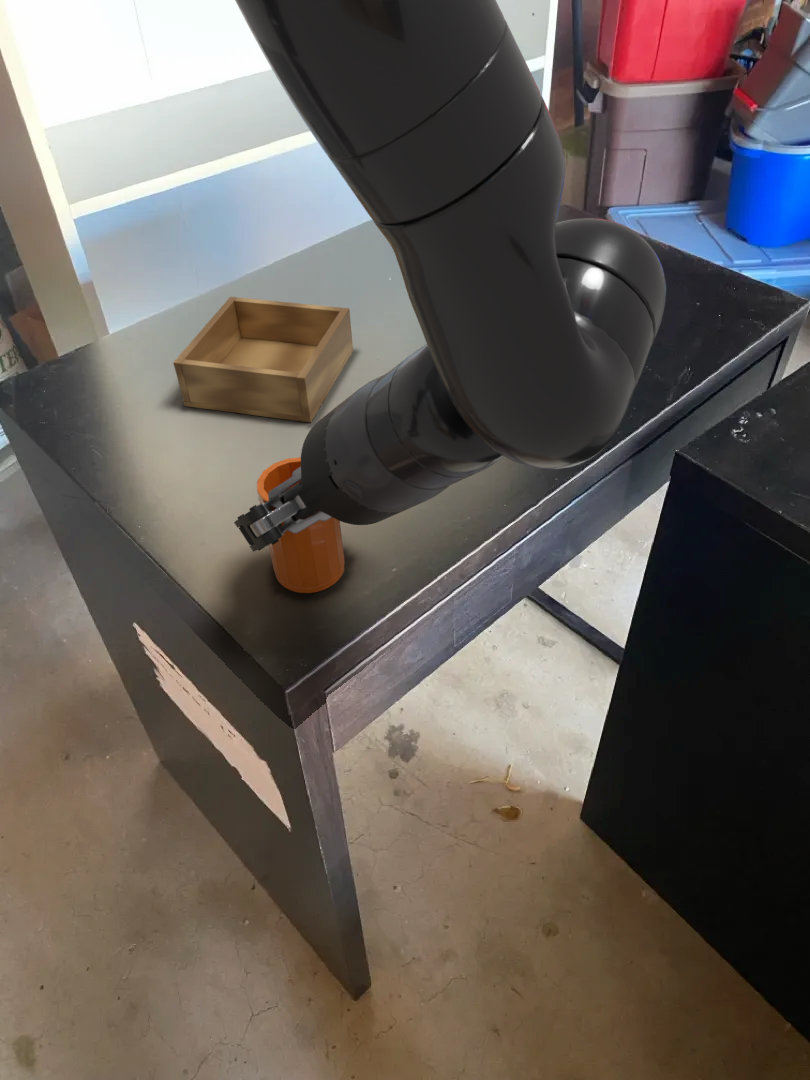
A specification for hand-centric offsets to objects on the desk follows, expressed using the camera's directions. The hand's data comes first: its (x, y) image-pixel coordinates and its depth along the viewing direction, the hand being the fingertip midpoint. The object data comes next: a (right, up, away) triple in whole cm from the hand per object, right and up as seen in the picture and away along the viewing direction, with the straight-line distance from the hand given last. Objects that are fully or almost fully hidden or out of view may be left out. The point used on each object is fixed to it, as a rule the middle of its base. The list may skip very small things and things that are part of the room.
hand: (287, 509), depth 63 cm
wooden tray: (-5, +15, +23) cm, 28 cm away
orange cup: (+1, -5, +3) cm, 6 cm away
